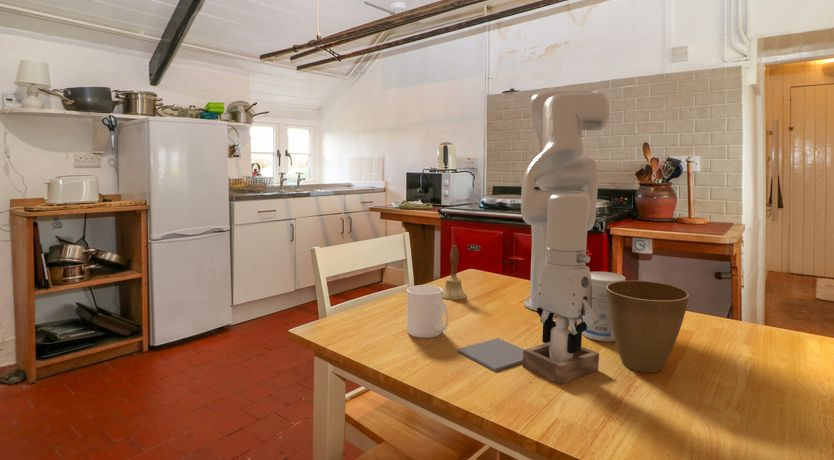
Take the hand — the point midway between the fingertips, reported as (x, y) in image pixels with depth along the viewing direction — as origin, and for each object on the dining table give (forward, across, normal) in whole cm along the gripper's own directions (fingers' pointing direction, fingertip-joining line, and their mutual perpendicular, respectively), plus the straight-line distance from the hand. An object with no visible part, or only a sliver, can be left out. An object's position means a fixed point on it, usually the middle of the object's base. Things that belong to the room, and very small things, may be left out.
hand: (561, 345), depth 95 cm
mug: (+5, +30, +11) cm, 32 cm away
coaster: (+5, +12, +6) cm, 14 cm away
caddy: (+5, 0, 0) cm, 5 cm away
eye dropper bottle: (+5, 0, 0) cm, 5 cm away
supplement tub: (+5, +7, -23) cm, 25 cm away
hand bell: (+5, +53, -14) cm, 55 cm away
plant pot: (+5, -8, -15) cm, 18 cm away
